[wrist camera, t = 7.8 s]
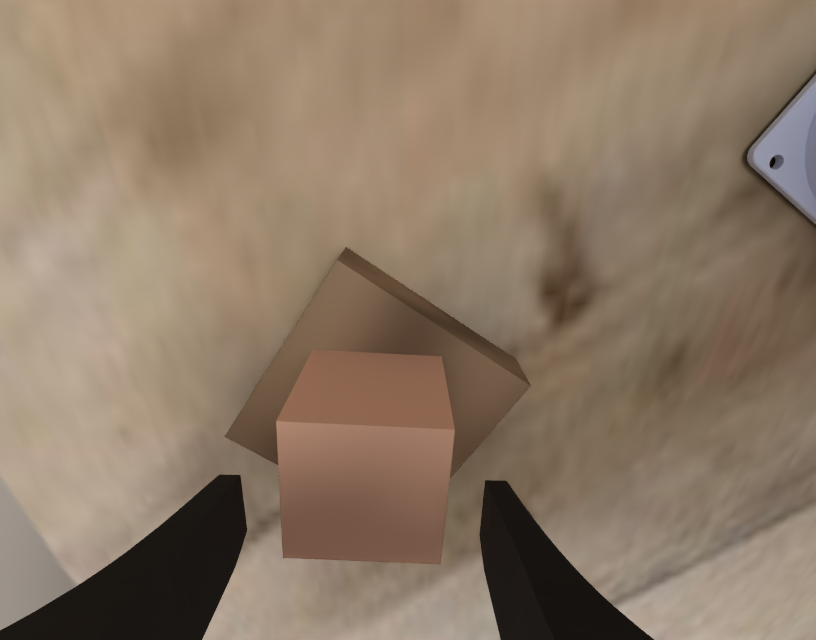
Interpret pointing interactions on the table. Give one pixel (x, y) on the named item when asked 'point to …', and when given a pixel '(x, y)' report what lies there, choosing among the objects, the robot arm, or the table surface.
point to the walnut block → (393, 334)
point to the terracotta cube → (366, 458)
